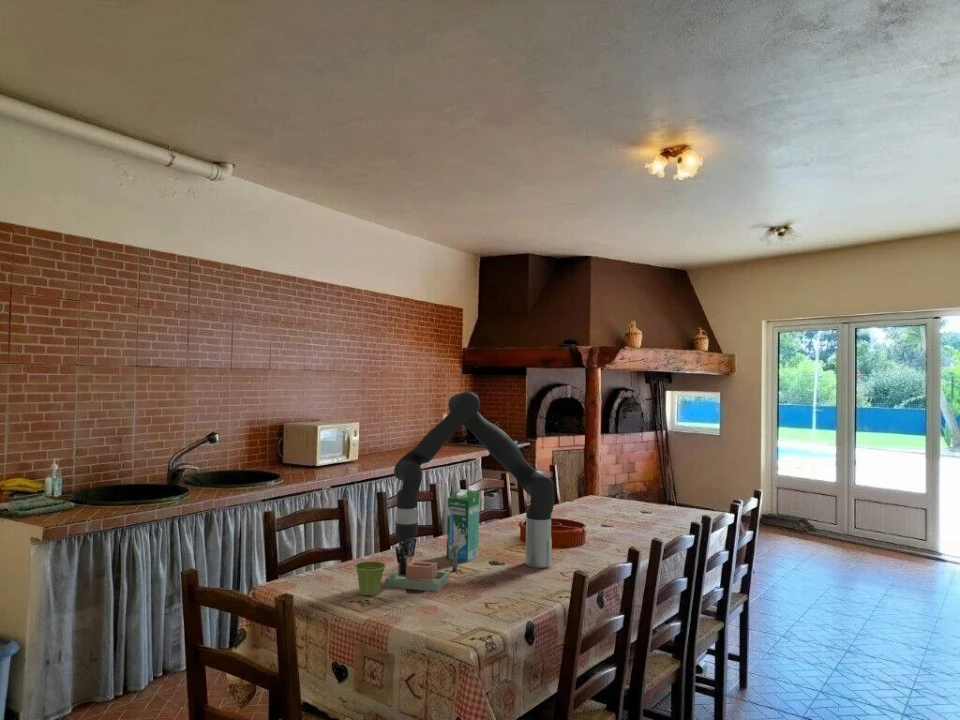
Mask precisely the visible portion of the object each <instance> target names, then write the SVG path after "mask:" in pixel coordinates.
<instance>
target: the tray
mask: <svg viewBox="0 0 960 720" xmlns="http://www.w3.org/2000/svg"><path fill="white" fill-rule="evenodd" d="M450 577H451V572H450V571H442V570H437V576H436V577H435V578H434V579H433V580H423V579H409V578H406V577H400V576H398V568H397V569H396V570H395V571H393V572H392V573H390V574H389V575H388V576H386V577H385V578H384V586H385V587H391V588H397V589H407V590H416V591H417V590H418V591H426V592H427V591H428V592H434V593H435V592H436V593H437V592H439V591H440V590H441V589H442V588H443V587H444V586H446V584H447V583H448V582H449V581H450V580H451V579H450Z"/></svg>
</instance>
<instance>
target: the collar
mask: <svg viewBox="0 0 960 720" xmlns="http://www.w3.org/2000/svg"><path fill="white" fill-rule="evenodd" d="M397 565H398V566H397V569H398V576H400V577H406V578H409V579H423V580H433V579H434V578H435V577H436V576H437V571H438V562H429V561H416V560H415V561H414V560H413V561H412V560H411V562H410V556H408V560H407V565H406V575H401V574H400V563H398V562H397Z"/></svg>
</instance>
